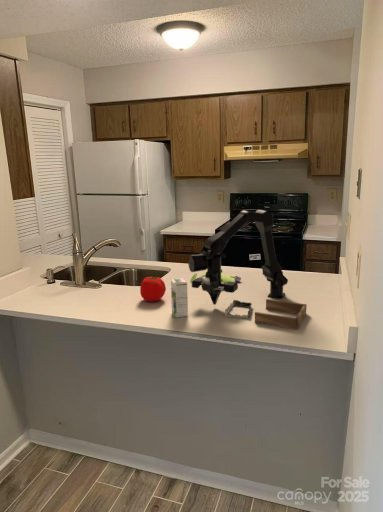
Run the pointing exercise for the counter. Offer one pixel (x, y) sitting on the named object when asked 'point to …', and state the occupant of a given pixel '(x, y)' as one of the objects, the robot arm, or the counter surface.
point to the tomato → (152, 289)
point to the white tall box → (179, 297)
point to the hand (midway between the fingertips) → (214, 304)
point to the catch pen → (282, 320)
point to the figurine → (223, 277)
